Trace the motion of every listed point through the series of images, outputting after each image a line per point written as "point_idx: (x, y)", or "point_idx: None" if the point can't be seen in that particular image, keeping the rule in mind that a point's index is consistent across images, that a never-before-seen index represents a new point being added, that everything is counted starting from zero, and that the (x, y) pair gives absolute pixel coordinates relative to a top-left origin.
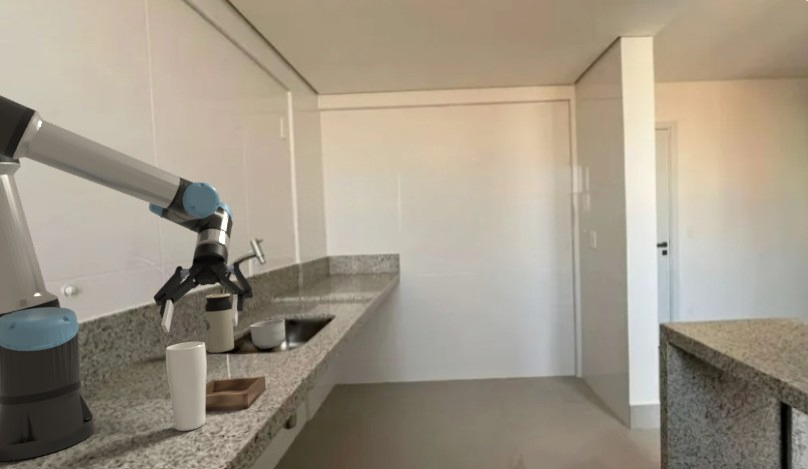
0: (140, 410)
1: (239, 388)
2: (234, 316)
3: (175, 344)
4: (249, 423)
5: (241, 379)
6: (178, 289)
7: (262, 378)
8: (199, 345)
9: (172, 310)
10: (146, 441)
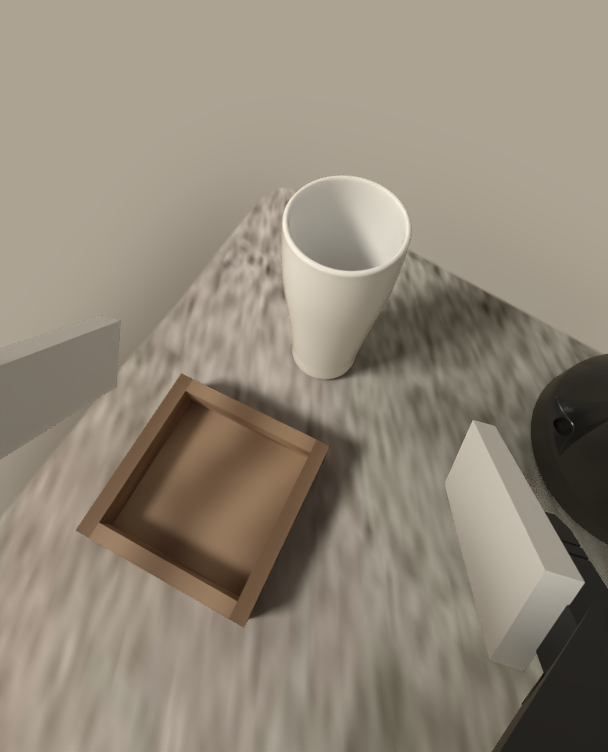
0: (458, 573)
1: (169, 557)
2: (94, 317)
3: (384, 264)
4: (212, 297)
5: (153, 552)
6: (541, 730)
7: (93, 504)
8: (303, 189)
9: (485, 595)
10: (403, 325)
